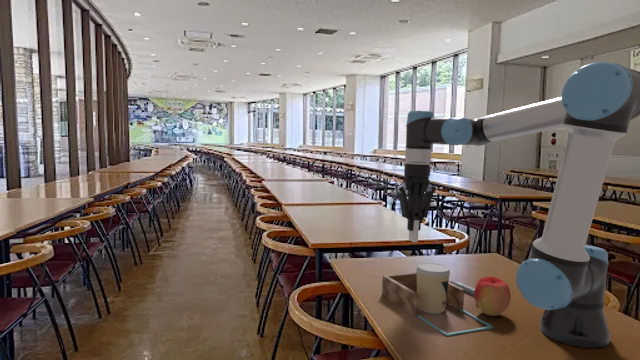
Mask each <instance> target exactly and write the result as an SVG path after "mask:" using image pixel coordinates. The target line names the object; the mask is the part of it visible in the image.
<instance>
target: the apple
mask: <svg viewBox="0 0 640 360" xmlns="http://www.w3.org/2000/svg"><path fill="white" fill-rule="evenodd" d="M474 288H475V292H474V296H473V297H474V301H475V305H476V304H477V305H478V306H477V305H476V306H477V307H478V308H479V310H480V311H481V312H482V313H483V314H485V315H487V316H490V317H496V316H499V315H501V314H503V313H504V312H505V311H506V310H508V308H509V307H510V304H511V299H512V298H511V297H512V295H511V289H510V286H509V285H508V283H507V282H506V281H504V280H502V279H501V278H498V277H494V276H482V277H480V278H479V279H478V281H477V283H476V285H475V287H474Z"/></svg>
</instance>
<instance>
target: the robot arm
mask: <svg viewBox="0 0 640 360" xmlns="http://www.w3.org/2000/svg"><path fill="white" fill-rule="evenodd" d="M639 116H640V71H639V70H635V69H632V68H629V67H626V66H623V65H621V64H619V63H614V62H610V61H609V62H605V61H598V62H597V61H596V62H591V63H588V64H585V65H583V66H581V67H579V68H578V69H577V70H575V71H574V72H572V74H570V75H569V77H568V79H566V81H565V83H564V85H563V88H562V91H561V96H560V97H556V98H552V99H548V100H545V101H543V100H542V101H540V102H536V103H532V104H528V105H525V106H520V107H516V108H511V109H509V110H505V111H501V112H497V113H494V114H489V115H486V116H485V115H484V116H482V117H477V118H467V117H461V116H451V117H448V116H447V117H445V116H444V117H434V111H431V110H410V111H409V112H408V114H407V120H406V124H405V126H406V131H405V133H406V140H405V154H404V155H405V156H404V162H406V163H404V170H403V172H404V173H403V174H404V179H403V180H402V184H400V185H397V186H396V187H395V190H396V192H397V194H398V198H399V204H400V211H401V212H400V213H401V217H402V218H404V219H407V226H406V227H407V228H406V229H407V231H408V241H411V242H412V243H418V242H419V231H421V229H422V228H421V227H422V225H421V224H422V222H423V221H424V219H426V218H428V215H429V211H430V207H431V203H432V200H433V197H434V193H435V192H436V190H437V187H436V186H434V185H432V184H431V182H430V179H429V178H430V176H431V165H430V163H431V161H432V145H446V146H449V145H450V146H475V147H478V146H479V147H481V146H484V145H488V144H490V143H491V142H496V141H501V140H506V139H510V138H516V137H517V138H518V137H521V136H526V135H530V134H536V133H541V132H546V131H551V130H556V129H557V130H558V129H563V128H565V130H566V131H567V133H568V136H567V140H566V143H565V147H564V152H563V155H562V160H561V164H560V167H559V170H558V174H557V178H556V181H555V186H554V190H553V194H552V197H551V202H550V204H549V209H548V213H547V216H546V219H545V224H544V228H543V231H542V235H541V236H540V237H539V238H537V239H535V240H534V241H533V242H532V244H531V248H530V251H529V256H528V258H527V259H525V260H524V261H523V262H521V264H520V265H519V266H518V268H517V270H516V274H515V281H516V285H517V289H518V291H520V293H521V294H522V295H521V296H522V297H523V298H524V300H526V301H527V302H528V303H530V304H531V305H532V306H533V307H536V308H538V309H541V310H544V311H543V314H542V316H541V317H540V321H539V330H540V331H541V333H542V334H544V335H545V336H547V337H549V338H550V339H552V340H554V341H557V342H560V343H562V344H566V345H569V346H573V347H577V346H579V347H578V348H584V347H588V348H587V349H596V348H595V347H602V348H605V347H607V346H608V345H609V344H610V338H611V337H610V336H611V332H610V330H609V327H608V323H607V321H608V320H607V318H606V315H605V314H606V313H605V311H604V310H605V308H604V306H605V296H606V289H607V288H606V286H607V275H608V266H609V260H608V259H609V253H608V251H606V250H607V249H603V248H601V247H598V246H594V245H590V244H587V240H588V237H589V234H590V230H591V226H592V222H593V218H594V216H595V212H596V209H597V206H598V203H599V198H600V196H601V190H602V188H603V185H604V180H605V178H606V177H605V176H606V175H607V170H608V166H609V163H610V159H611V157H612V153H613V150H614V146H615V142H616V141H617V140H619V139H621V138H622V137H624V136H626V135H627V132H628V130H629V126H630V122H631V121H633V120H634V119H636V118H639ZM406 192H407V193H406ZM606 345H607V346H606ZM604 346H605V347H604ZM590 347H592V348H590ZM593 347H594V348H593Z"/></svg>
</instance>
